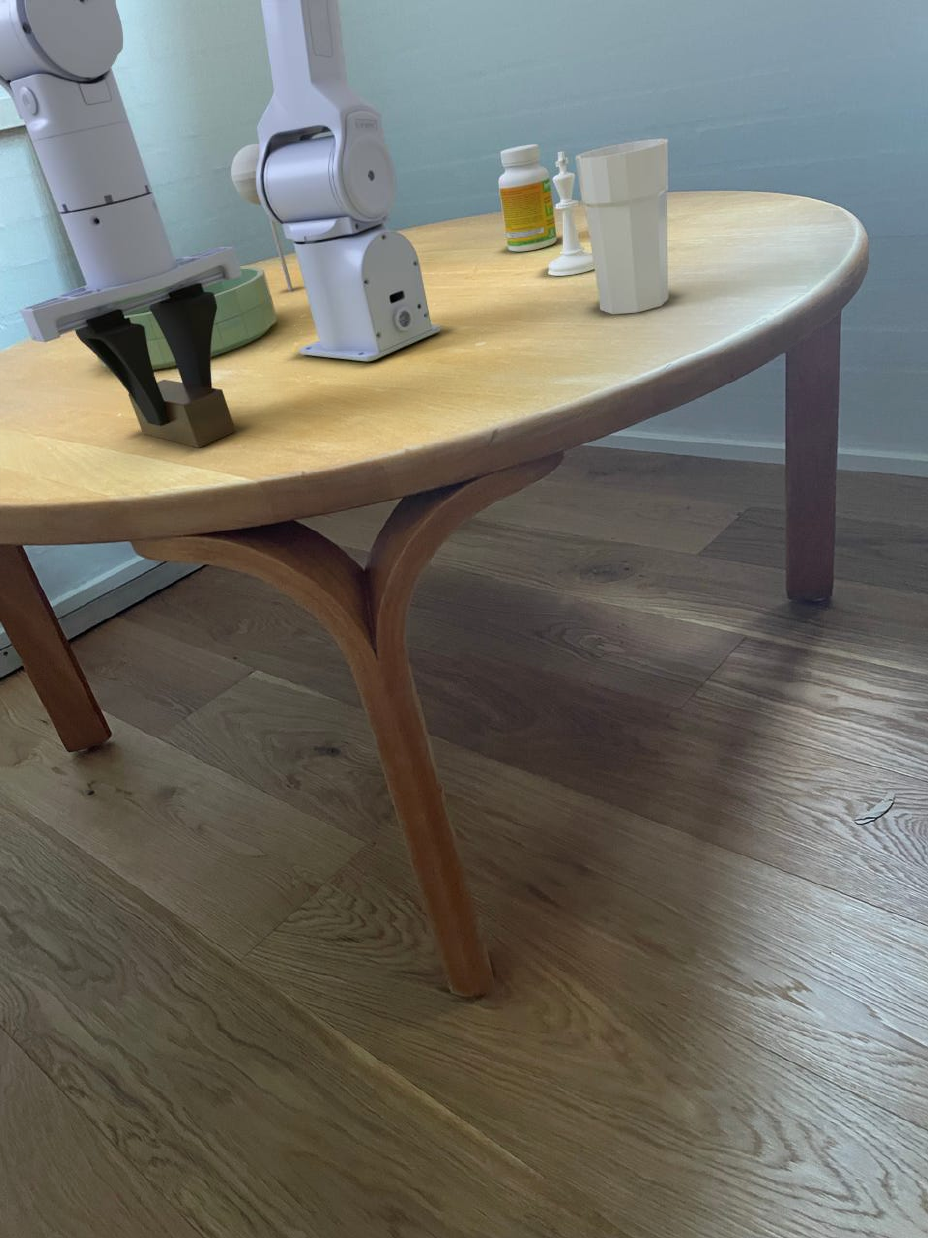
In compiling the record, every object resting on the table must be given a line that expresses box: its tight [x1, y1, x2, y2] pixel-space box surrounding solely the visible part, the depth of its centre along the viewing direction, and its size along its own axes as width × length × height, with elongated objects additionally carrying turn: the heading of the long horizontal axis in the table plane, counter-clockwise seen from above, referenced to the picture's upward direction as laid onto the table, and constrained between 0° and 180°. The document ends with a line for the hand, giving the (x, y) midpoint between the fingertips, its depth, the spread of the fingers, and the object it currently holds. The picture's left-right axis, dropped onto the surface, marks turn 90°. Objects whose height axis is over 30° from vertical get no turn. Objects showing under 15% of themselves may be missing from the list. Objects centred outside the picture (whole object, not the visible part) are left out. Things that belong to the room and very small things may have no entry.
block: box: [127, 379, 237, 449], centre depth 63 cm, size 8×3×3 cm, turn 46°
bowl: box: [96, 266, 277, 371], centre depth 87 cm, size 17×17×5 cm
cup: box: [575, 138, 670, 315], centre depth 68 cm, size 7×7×11 cm
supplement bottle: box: [497, 143, 557, 253], centre depth 97 cm, size 5×5×10 cm
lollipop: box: [230, 143, 294, 292], centre depth 100 cm, size 6×6×15 cm
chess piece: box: [547, 150, 595, 277], centre depth 83 cm, size 5×5×10 cm
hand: (181, 413), depth 63 cm, fingers closed on block, 3 cm apart
